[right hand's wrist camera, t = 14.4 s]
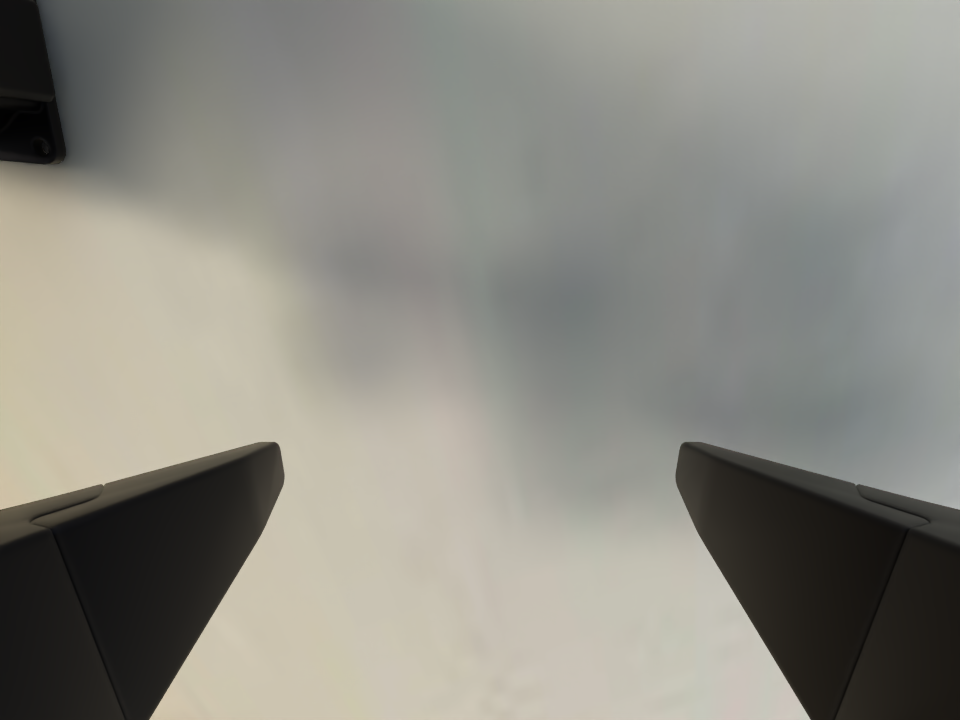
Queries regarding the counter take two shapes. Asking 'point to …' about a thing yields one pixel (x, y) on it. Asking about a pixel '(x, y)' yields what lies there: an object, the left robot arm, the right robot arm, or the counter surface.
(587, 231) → the counter surface
